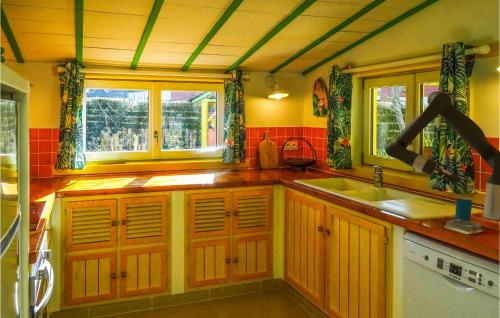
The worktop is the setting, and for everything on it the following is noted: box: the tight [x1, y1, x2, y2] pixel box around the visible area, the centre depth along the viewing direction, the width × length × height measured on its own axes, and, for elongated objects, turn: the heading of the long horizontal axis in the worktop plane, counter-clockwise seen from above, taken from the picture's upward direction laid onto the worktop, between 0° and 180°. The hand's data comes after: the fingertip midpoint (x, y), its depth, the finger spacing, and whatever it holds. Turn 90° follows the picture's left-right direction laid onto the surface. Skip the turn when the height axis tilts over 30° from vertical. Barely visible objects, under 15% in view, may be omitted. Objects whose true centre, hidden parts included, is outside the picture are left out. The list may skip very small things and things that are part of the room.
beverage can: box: [454, 196, 473, 222], centre depth 201 cm, size 6×6×12 cm
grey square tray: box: [444, 219, 484, 235], centre depth 191 cm, size 11×11×3 cm
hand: (458, 180), depth 202 cm, fingers open, 8 cm apart
